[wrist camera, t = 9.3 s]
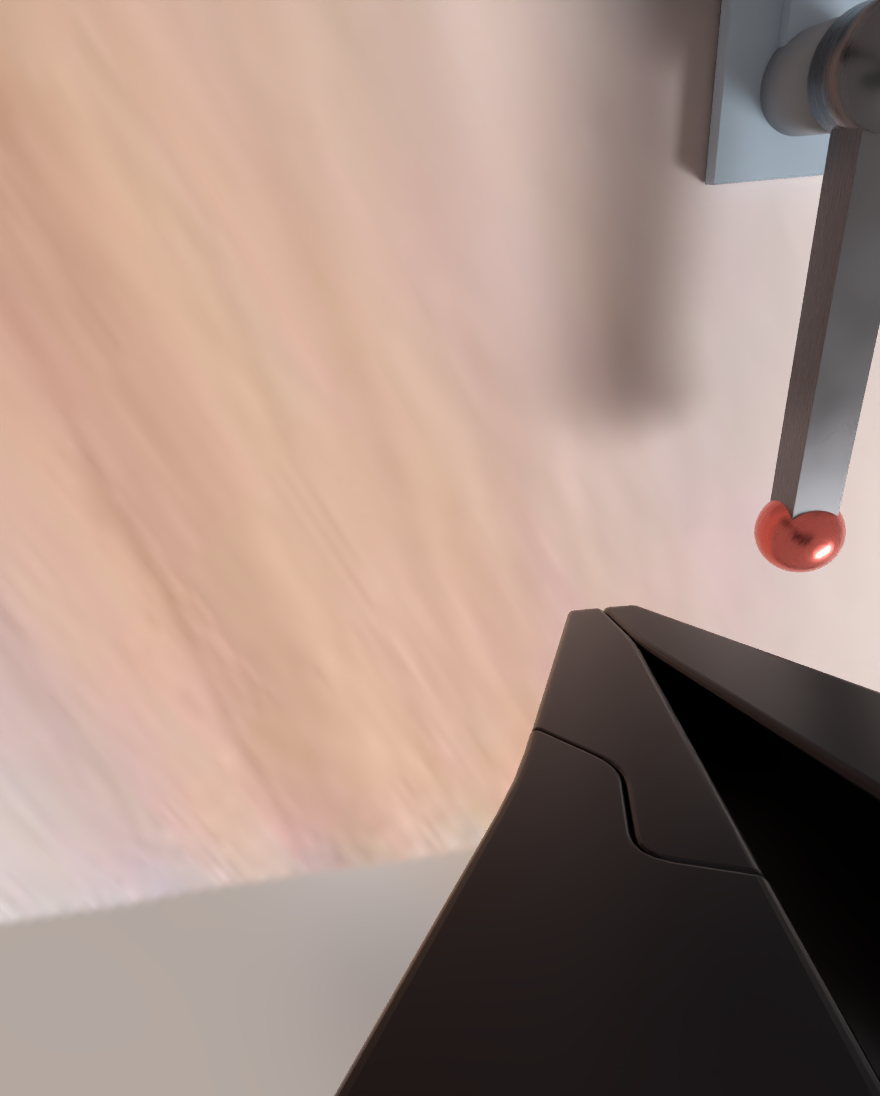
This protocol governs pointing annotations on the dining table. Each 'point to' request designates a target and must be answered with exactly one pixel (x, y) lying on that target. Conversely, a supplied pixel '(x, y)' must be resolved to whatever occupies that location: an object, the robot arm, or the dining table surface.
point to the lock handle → (832, 303)
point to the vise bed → (767, 90)
